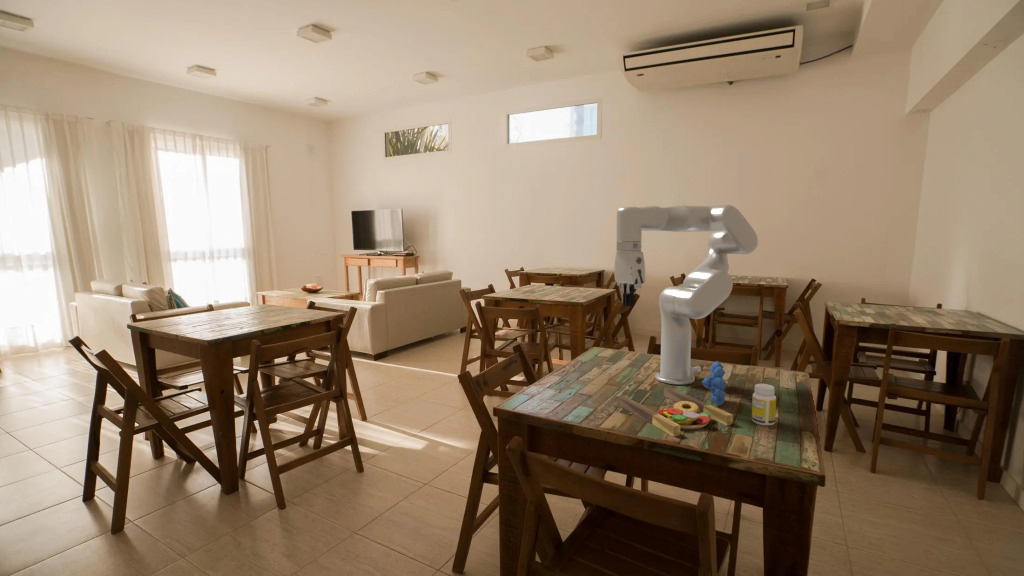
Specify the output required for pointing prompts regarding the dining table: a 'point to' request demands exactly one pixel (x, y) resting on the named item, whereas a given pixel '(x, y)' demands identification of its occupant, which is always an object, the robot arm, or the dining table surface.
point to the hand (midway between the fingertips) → (628, 305)
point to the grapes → (716, 383)
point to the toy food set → (686, 415)
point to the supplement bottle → (764, 404)
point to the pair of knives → (665, 423)
